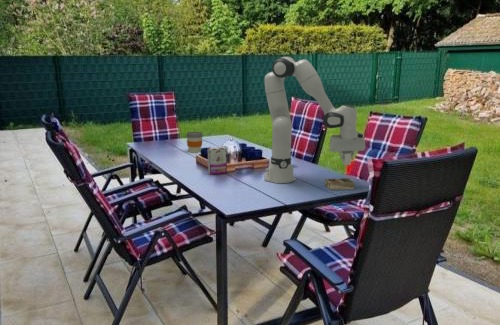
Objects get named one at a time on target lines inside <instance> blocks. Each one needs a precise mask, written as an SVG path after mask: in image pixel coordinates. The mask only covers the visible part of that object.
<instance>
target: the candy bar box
mask: <svg viewBox="0 0 500 325" xmlns="http://www.w3.org/2000/svg"><path fill="white" fill-rule="evenodd" d="M227 154H228V153H227V147H225V146H217V147H207V173H208V174H209V175H210V176H212V175H214V176H215V175H223V174H228V167H227V165H228V164H227V162H228V161H227Z"/></svg>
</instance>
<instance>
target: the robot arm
mask: <svg viewBox="0 0 500 325" xmlns="http://www.w3.org/2000/svg"><path fill="white" fill-rule="evenodd" d="M292 76H293V77H294V78H296V80H297V81H298V83H299V85H300V87H301V89H303V91H304V92H305V93H306V94H307V95H308V96H311V97H312V98H313V99H314V100H315V101H316V102H317V103H318V105H319V107H320V108H321V110H322V111H323V115H324V116H323V118H322V122H323V125H324V126H325V127H326V128H328V129H337V128H339V134H333V135H331V136H330V138H329V147H328V150H329V152H331V153H335V152H337V153H339V156H340V160H342V159H344V156H343V151H351V160H353V158H354V155H355V154H356V152H360V151H361V152H363V151H365V149H366V139H365V134H364V133H362V132H360V131H357V122H358V119H357V118H358V117H357V116H358V113H357V109H356V107H355V106H353V105H349V104H343V105H341V106H340V107H337V108H336V107H335V106H334V105H333V104H332V102H331V100H330V98H329V96H328V95H327V93H326V91H325V88H324V85H323V82H322V79H321V77H320V76H319V74H318V72H317V70H316V69H315V67H314V66H313V64H311V63H310V61H309V60H308V59H304V58H303V59H300V60H298V61H296V59H295V58H294V57H292V56H288V55H287V56H281V57H278V58H277V59H275V60H274V62H273V63H272V65H271V71H269V72H268V73H266V74H265V76H264V89H265V95H266V100H267V105H268V109H269V114H270V118H271V123H272V130H271V131H272V133H271V135H272V136H271V156H270V164H269V165H268V167H266V168H265V173H264V174H263V176H264V181H265V182H269V183H270V182H271V183H275V184H288V183H291V182H293V181H296V180H297V178H296V177H294V176H295V175H294V166H293V165H292V157H291V156H292V153H291V149H292V133H293V130H292V129H293V124H292V120H291V115H290V110H289V109H290V108H289V104H288V98H287V93H286V89H285V79H286V78H288V77H292Z"/></svg>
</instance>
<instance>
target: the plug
mask: <svg viewBox="0 0 500 325" xmlns="http://www.w3.org/2000/svg"><path fill="white" fill-rule="evenodd" d="M351 153H352V152H351V151H343V153H342V155H343V156H344V159H341V161H342V162H341V164H342V165H343V166H351V165H352V159H351Z"/></svg>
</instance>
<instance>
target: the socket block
mask: <svg viewBox="0 0 500 325" xmlns="http://www.w3.org/2000/svg"><path fill="white" fill-rule="evenodd" d="M355 184H356V183H355V181H353V180H352V179H350V178H349V177H345V178H340V177H339V178H326V179H324V187H325V188H327V189H328V190H329V191H342V190H343V191H345V190H355V188H356V187H355Z"/></svg>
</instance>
